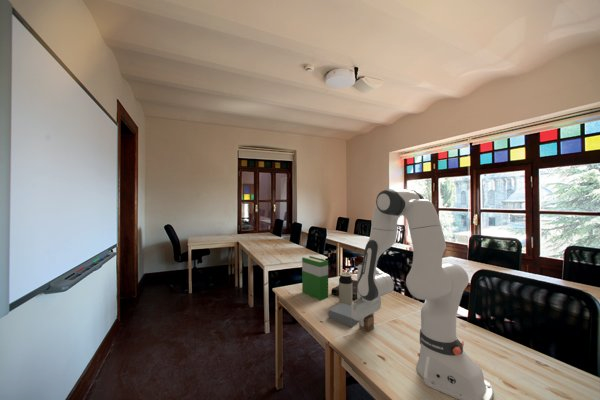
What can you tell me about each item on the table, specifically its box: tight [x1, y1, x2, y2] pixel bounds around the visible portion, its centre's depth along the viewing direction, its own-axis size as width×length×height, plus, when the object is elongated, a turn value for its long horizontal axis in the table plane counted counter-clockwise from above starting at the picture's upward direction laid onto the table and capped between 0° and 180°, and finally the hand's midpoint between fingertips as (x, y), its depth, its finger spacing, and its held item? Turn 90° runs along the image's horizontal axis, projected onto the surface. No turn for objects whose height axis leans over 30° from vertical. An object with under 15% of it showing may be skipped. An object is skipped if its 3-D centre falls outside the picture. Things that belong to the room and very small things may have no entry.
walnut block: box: [358, 315, 375, 333], centre depth 118 cm, size 5×5×6 cm
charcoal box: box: [327, 302, 359, 328], centre depth 128 cm, size 14×12×5 cm
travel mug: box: [338, 271, 353, 306], centre depth 147 cm, size 8×8×18 cm
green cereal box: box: [301, 255, 329, 301], centre depth 160 cm, size 18×7×24 cm, turn 39°
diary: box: [331, 279, 358, 302], centre depth 165 cm, size 19×25×5 cm
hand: (366, 323), depth 118 cm, fingers closed on walnut block, 5 cm apart
